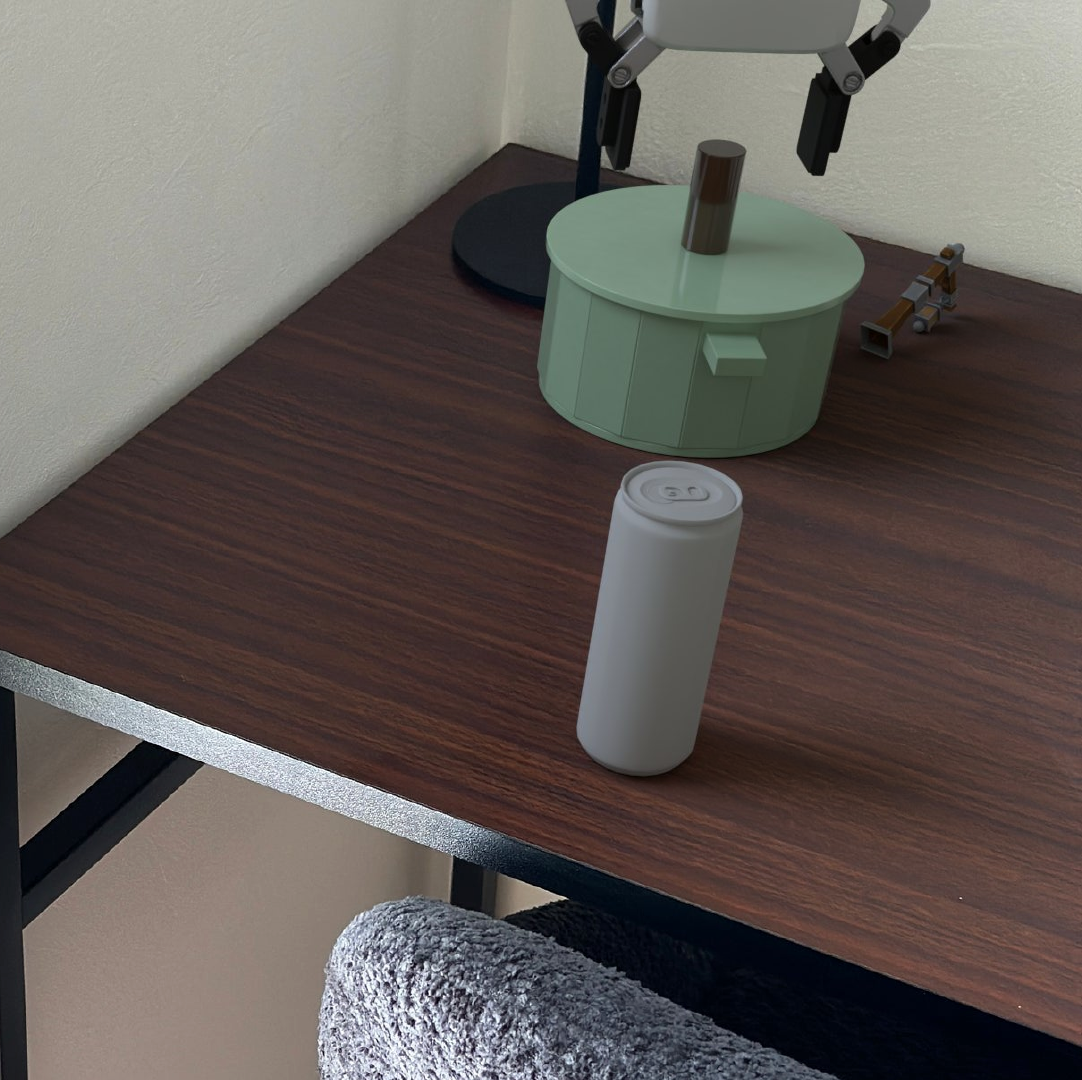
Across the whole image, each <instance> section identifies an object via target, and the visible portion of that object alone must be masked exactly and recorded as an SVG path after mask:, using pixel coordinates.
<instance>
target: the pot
mask: <svg viewBox="0 0 1082 1080" xmlns="http://www.w3.org/2000/svg"><path fill="white" fill-rule="evenodd" d="M547 282H548V283H547V289H546V294H545V295H546V297H545V302H544V303H545V304H544V312H543V318H542V326H541V335H540V340H539V349H538V356H537V362H536V363H537V364H536V368H537V371H538V378H537V380H538V387H539V389H540V392H541V394H542V396H543V398H544V399H545V401H546V402H547V403H548V405H549V406H550V407H551V408H552V409H553V410H554V411H555V412H556V413H557V414H558V415H559V416H561V417H562V418H564V419H565V420H566V421H568V422H569V423H571V424H572V425H573V426H575V427H578V429H581V430H583V431H585V432H587V433H589V434H591V435H593V436H595V437H597V438H600V439H603V440H606V441H609V442H611V443H614V444H617V445H621V446H624V447H628V448H631V449H635V450H638V451H644V452H646V453H647V452H648V453H653V454H658V455H666V456H673V457H682V458H698V459H699V458H700V459H716V458H717V459H719V458H721V459H722V458H734V457H736V458H737V457H744V456H749V455H750V456H752V455H756V454H757V455H758V454H761V453H765V452H769V451H772V450H773V451H774V450H776V449H779V448H782V447H785V446H788V445H790V444H791V443H793V442H795V441H797V440H799V439H800V438H802V437H803V436H804V435H806V434H807V433H808V432H809V431H810V430H811V429H812V428H813V427H814V426H815V425H816V422H817V421H818V419H819V417H820V414H821V409H822V406H823V403H824V400H825V397H826V394H827V390H828V385H829V382H830V381H829V380H830V377H831V372H832V368H833V363H834V361H835V360H834V359H835V356H836V351H837V348H838V347H837V346H838V342H839V337H840V333H841V328H842V324H843V321H844V316H845V312H846V308H847V303H848V299H846V300H845V301H843V302H842V303H841V304H839V305H837V306H835V307H832V308H830V309H828V310H826V311H823V312H820V313H817V314H814V315H810V316H805V317H801V318H797V319H791V320H784V321H777V322H764V323H715V322H704V321H694V320H687V319H680V318H674V317H668V316H663V315H659V314H654V313H649V312H646V311H642V310H638V309H635V308H631V307H628V306H625V305H622V304H619V303H616V302H613V301H611V300H608V299H606V298H603V297H601V296H599V295H596V294H594V293H592V292H590V291H589V290H587V289H585V288H583V287H581V286H579V285H578V284H576V283H575V282H573V281H572V280H570V279H569V278H568V277H566V276H565V275H564V274H563V273H562V272H561V271H560V270H559V269H558V268H557V267H556V266H555V265H554V263H553V262H552V261H551V260H550V266H549V274H548V280H547Z"/></svg>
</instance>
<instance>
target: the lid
mask: <svg viewBox="0 0 1082 1080" xmlns="http://www.w3.org/2000/svg"><path fill="white" fill-rule="evenodd" d="M746 157H747V148H746V147H745V146H744V145H742V144H740V143H739V142H736V141H733V140H729V139H728V140H727V139H721V138H720V139H718V138H717V139H716V138H715V139H706V140H703V141H701V142H699V143H698V144H697V146H696V150H695V157H694V163H693V169H692V174H691V179H690V185H685V184H684V185H683V184H652V185H639V186H638V185H637V186H629V187H622V188H621V187H620V188H616V189H611V190H610V189H609V190H605V191H601V192H598V193H594V194H590V195H588V196H585V197H583V198H579V199H577V200H576V201H573V202H572V203H569V204H568V205H566V206H565V207H563V208H562V209H561V210H560V211H558V212H556V213H555V215H554V216H553V218H552V219H551V220H550V222H549V224H548V226H547V229H546V235H545V248H546V253H547V255H548V257H549V258H550V262H551V261H552V262H553V263H554V265H555V266H556V267H557V268H558V269H559V270H560V271H561V272H562V273H563V274H564V275H565V276H566V277H568V278H569V279H570V280H572V281H573V282H575V283H576V284H578V285H579V286H581V287H583V288H585V289H587V290H589V291H590V292H592V293H594V294H596V295H599V296H601V297H603V298H606V299H608V300H611V301H613V302H616V303H619V304H622V305H625V306H628V307H631V308H635V309H638V310H642V311H646V312H649V313H654V314H659V315H663V316H668V317H674V318H680V319H687V320H694V321H704V322H715V323H764V322H777V321H784V320H791V319H797V318H801V317H805V316H810V315H814V314H817V313H820V312H823V311H826V310H828V309H830V308H832V307H835V306H837V305H839V304H841V303H842V302H843V301H845V300H846V299H847V300H849V298H851V297H852V295H854V294H855V293H856V292H857V290H858V289H859V287H860V286H861V283H862V281H863V277H864V272H865V269H866V268H865V266H866V264H865V259H864V254H863V253H862V251H861V249H860V247H859V246H858V244H857V243H856V241H854V239H853V238H851V237H850V236H849V235H848V234H847V233H846V232H845V231H844V230H842V229H841V228H839V226H837V225H835V224H834V223H832V222H830V221H828V220H827V219H825V218H823V217H821V216H819V215H817V214H815V213H813V212H811V211H808V210H806V209H803V208H801V207H798V206H796V205H792V204H790V203H787V202H784V201H781V200H777V199H775V198H771V197H767V196H763V195H758V194H754V193H750V192H745V191H740V190H741V189H740V188H741V183H742V179H743V173H744V168H745V162H746V159H747V158H746Z"/></svg>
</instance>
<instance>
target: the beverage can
mask: <svg viewBox="0 0 1082 1080" xmlns="http://www.w3.org/2000/svg"><path fill="white" fill-rule="evenodd" d="M743 500H744V496H743V491H742V489H741V487H740V486H739V485H738V484H737V482H736V481H735V480H733V479H732V478H730V477H729V476H728V475H727V474H725V473H723V472H721V471H719V470H717V469H715V468H712V467H709V466H705V465H703V464H699V463H694V462H688V461H682V460H680V461H679V460H660V461H659V460H657V461H651V462H647V463H642V464H639V465H637V466H635V467H633V468H631V469H629V471H627V473H625V474H624V476H623V477H622V480H621V483H620V488H619V489H618V491H617V493H616V496H615V498H614V502H613V507H612V512H611V513H612V514H611V519H610V524H609V531H608V537H607V543H606V549H605V553H604V554H605V555H604V559H603V567H602V573H601V579H600V584H599V590H598V596H597V603H596V608H595V614H594V621H593V626H592V633H591V639H590V644H589V650H588V656H587V661H586V668H585V674H584V681H583V686H582V691H581V692H582V693H581V699H580V705H579V711H578V715H577V721H576V736H577V739H578V741H579V742H580V744H581V746H582V748H583V749H584V751H585V752H586V753H587V755H588V756H589V757H590V758H591V759H593V761H594V762H596V763H597V764H599V765H601V766H602V767H604V768H606V769H608V770H610V771H613V772H615V773H618V774H622V775H628V776H634V777H649V776H650V777H651V776H658V775H661V774H664V773H667V772H669V771H671V770H673V769H675V768H676V767H678V766H679V765H680V764H681V763H683V762H684V761H685V760H687V759H688V758H689V756H690V755H691V754H692V753H693V751H694V747H695V745H696V739H697V734H698V730H699V725H700V720H701V716H702V710H703V706H704V702H705V698H706V697H705V696H706V692H707V688H708V682H709V678H710V673H711V668H712V663H713V660H714V654H715V651H716V646H717V641H718V635H719V631H720V625H721V622H722V617H723V613H724V612H723V611H724V609H725V608H724V607H725V604H726V603H725V602H726V598H727V594H728V588H729V583H730V579H731V575H732V571H733V566H734V560H735V556H736V551H737V546H738V543H739V538H740V533H741V527H742V522H743V518H744V510H743V507H742V505H743Z"/></svg>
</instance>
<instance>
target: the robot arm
mask: <svg viewBox="0 0 1082 1080" xmlns="http://www.w3.org/2000/svg"><path fill="white" fill-rule="evenodd" d="M600 1H601V0H563V2H564V3H565V6H566V9H567V12H568V15H569V18H570V21H571V24H572V26H573V29H574V32H575V35H576V37H577V40H578V41H579V44H580V45H581V47H582V49H583V50H584V51H585V53H587V56H589V57H590V59H591V60H592V61H593V62H594V63H595V64H594V65H596V66H597V67H598V68H599V70H600V71H601V73H602V74H603V75H604V80H603V85H602V86H603V87H602V93H601V99H600V105H599V111H598V119H597V123H596V124H597V125H596V142H597V145H598V146H599V147H604V150H605V153H606V156H607V157H608V160H609V163H610V165H611V167H612V170H613V171H619V172H620V171H626V169H630V167H631V161H632V156H633V150H634V144H635V137H636V131H637V125H638V120H639V115H640V107H641V102H642V90H641V87H640V86H639V83H638V81H637V80H638V77H639V76H640V75H641V73H643V71H645V70H646V69H647V68H648V67H649V66H650V65H651V64H652V62H654V61H655V60H656V59H657V58H658V57H659V56H660V55H661V54H662V53H663V52H664V51H665V50H666V49H668V50H674V51H687V52H711V53H712V52H713V53H737V54H738V53H739V54H742V53H743V54H773V55H775V54H777V55H815V54H816V55H817V57H818V58H819V59H820V61H821V63H822V64H823V66H822V68H821V72H815V76H814V77H812V78H811V80H810V83H809V88H808V93H807V98H806V102H805V107H804V112H803V116H802V119H801V120H802V121H801V125H800V130H799V134H798V139H797V143H796V148H795V150H796V151H795V152H796V155H797V157H798V159H799V160H800V162H801V164H802V165H803V167H804V169H806V172H807V174H810V175H811V176H812V177H824V176H825V175H826V170H827V166H828V163H829V158H830V154H837V153H838V152H839V150H840V147H841V144H842V140H843V135H844V131H845V127H846V122H847V117H848V113H849V109H850V105H851V100H852V96H853V95H856V94H858V93H860V92H861V90H862V89H863V88H864V86H865V83H866V80H868V79H869V78H870V77H872V76H873V75H875V73H877V72H878V71H879V70H880V69H882V68H883V67H884V66H886V65H887V64H888V63H889V62H890V61H891V60H893V59H894V58H895V57H896V56H897V55H898V54H899V52H900V50H901V45H902V44H903V42H904V41H905V40H906V39H908V38H909V37H910V35H911V34H912V33H913V31H914V30H915V28H916V27H917V26H918V25H919V23H920V22H921V20H922V19H923V18H924V17H925V16H926V14H927V13H928V12H929V9H930V7H931V3H932V2H931V0H881V1H882V2H883V3H884V4H886V9H885V11H884V13H883V14H882V15H881V17H880V18H881V19H879V21H878V22H877V24H875V25H873V26H871V27H870V28H869V29H868V30H867V31H866V32H864V33H863V34H862V35H860V36H859V37H858V38H857V39H855V40H854V41H852V43H850V45H848V44H847V42H848V40H849V39H850V38H851V35H852V33H853V30H854V28H855V25H856V22H857V18H858V14H859V10H860V5H861V1H862V0H628V3H629V4H628V5H629V9H630V12H631V13H633V14H634V15H635V16H633V17H632V18H631V20H629V21H628V22H627V24H625V25H624V27H622V28H621V29H620V30H619V31H618V32H617V33H616V35H614V37H613V35H612V34H611V33H610V32H609V30H608V29H607V28H606V27H605V26H604V24H603V23H602V22H601V18H600V15H599V12H598V5H599V2H600Z"/></svg>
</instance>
